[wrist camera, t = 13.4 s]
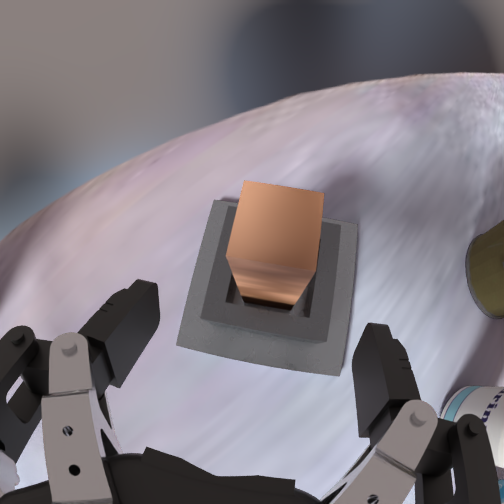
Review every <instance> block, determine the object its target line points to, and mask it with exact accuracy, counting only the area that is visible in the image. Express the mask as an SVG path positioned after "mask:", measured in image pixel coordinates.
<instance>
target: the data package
mask: <svg viewBox="0 0 504 504" xmlns="http://www.w3.org/2000/svg"><path fill="white" fill-rule="evenodd" d="M498 484H499V490H500V497H501V504H504V480H498Z"/></svg>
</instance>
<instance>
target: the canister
mask: <svg viewBox="0 0 504 504" xmlns="http://www.w3.org/2000/svg"><path fill="white" fill-rule="evenodd" d="M466 276H467V281H468V286H469V289H470V292H471V295H472V297H473V299H474V301H475V303H476V304H477V306H478V307H479V308H480V310H481V311H482V312H483V313H484V314H485V315H487V316H488V317H490V318H493V319H501V318H504V220H503V221H501V222H500V223H499V224H497V225H496V226H495V227H493V228H492V229H490V230H489V231H488V232H486V233H485V234H481V235H479V236H477V237H476V238H475V239H474V240H473V241H472V242H471V244H470V246H469V249H468V253H467V257H466Z"/></svg>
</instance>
